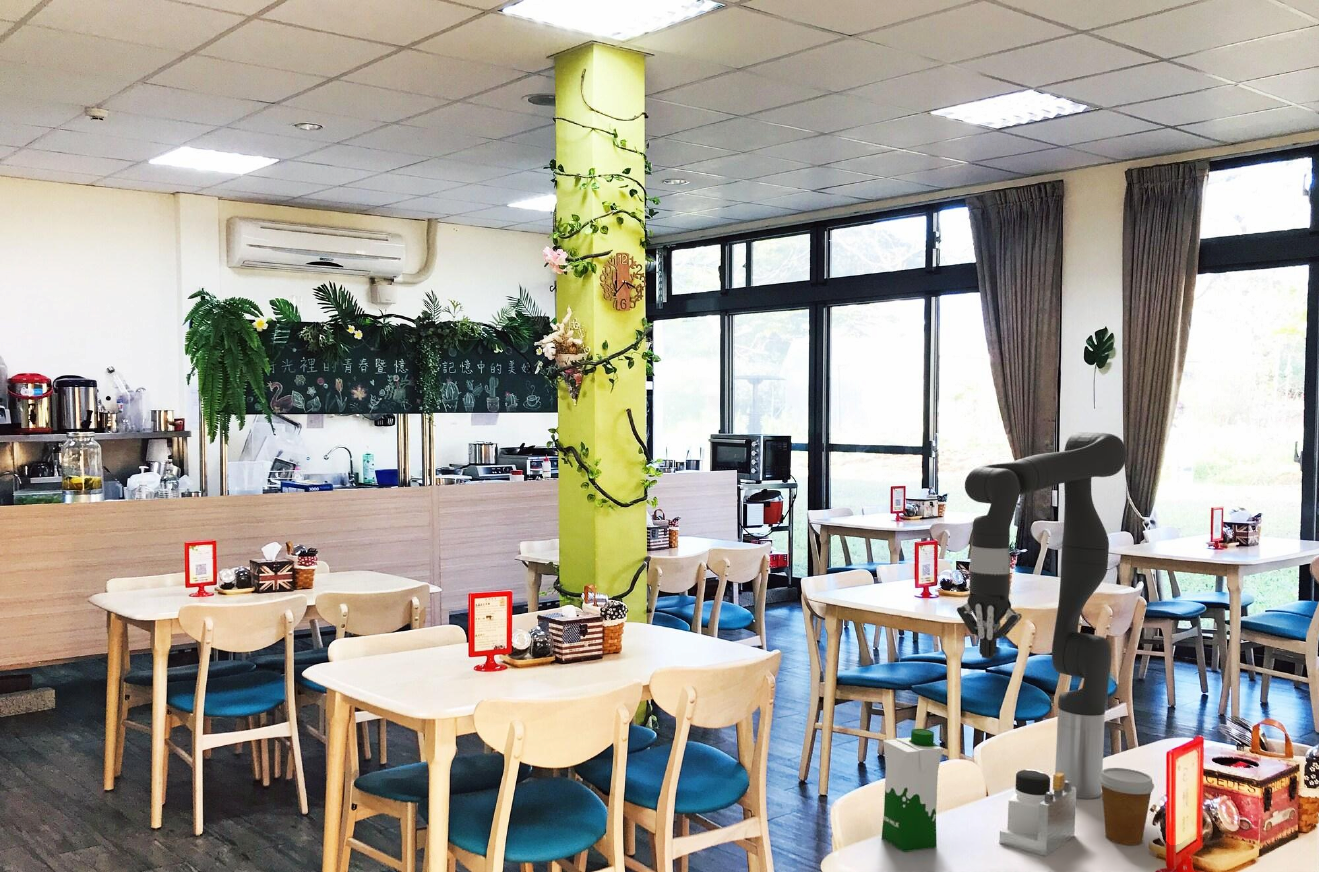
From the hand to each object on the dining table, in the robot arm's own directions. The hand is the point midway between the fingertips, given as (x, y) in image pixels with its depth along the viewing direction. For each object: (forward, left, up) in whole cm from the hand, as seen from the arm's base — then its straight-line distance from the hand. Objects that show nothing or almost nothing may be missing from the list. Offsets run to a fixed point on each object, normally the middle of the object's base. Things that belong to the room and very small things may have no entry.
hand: (987, 657), depth 220 cm
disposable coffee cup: (-6, +25, -31) cm, 40 cm away
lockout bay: (+6, +13, -31) cm, 34 cm away
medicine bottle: (+6, +12, -31) cm, 34 cm away
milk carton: (+25, -3, -31) cm, 40 cm away
